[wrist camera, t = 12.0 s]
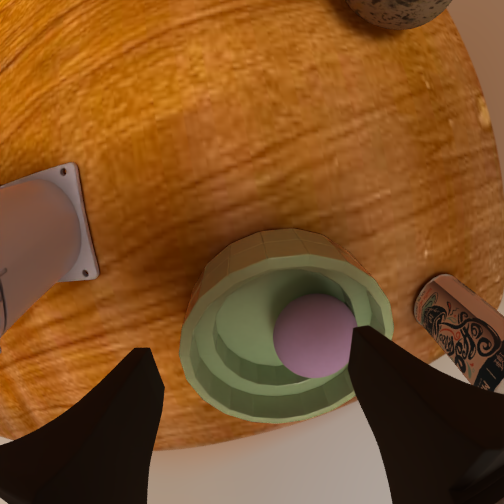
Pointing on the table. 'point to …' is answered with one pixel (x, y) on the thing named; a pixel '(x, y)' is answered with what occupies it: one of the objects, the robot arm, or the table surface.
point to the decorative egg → (398, 12)
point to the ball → (314, 335)
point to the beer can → (464, 330)
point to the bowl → (270, 324)
